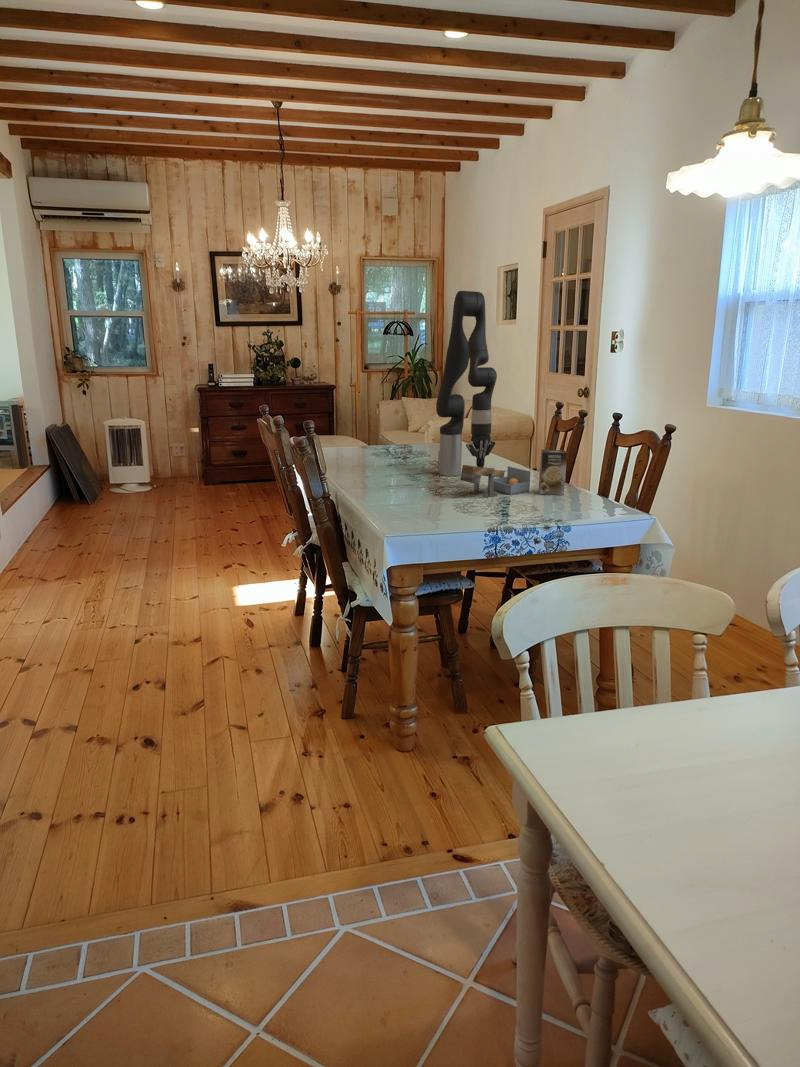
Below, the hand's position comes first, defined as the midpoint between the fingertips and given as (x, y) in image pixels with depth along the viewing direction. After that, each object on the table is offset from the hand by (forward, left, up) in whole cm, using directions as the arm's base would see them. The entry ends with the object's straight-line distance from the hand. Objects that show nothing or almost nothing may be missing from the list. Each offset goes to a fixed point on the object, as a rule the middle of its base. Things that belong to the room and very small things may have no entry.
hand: (480, 467), depth 285 cm
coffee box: (+20, +18, -9) cm, 29 cm away
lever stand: (+8, -5, -9) cm, 13 cm away
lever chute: (+4, -6, -4) cm, 8 cm away
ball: (+8, +10, -6) cm, 14 cm away
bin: (+8, +8, -9) cm, 14 cm away
